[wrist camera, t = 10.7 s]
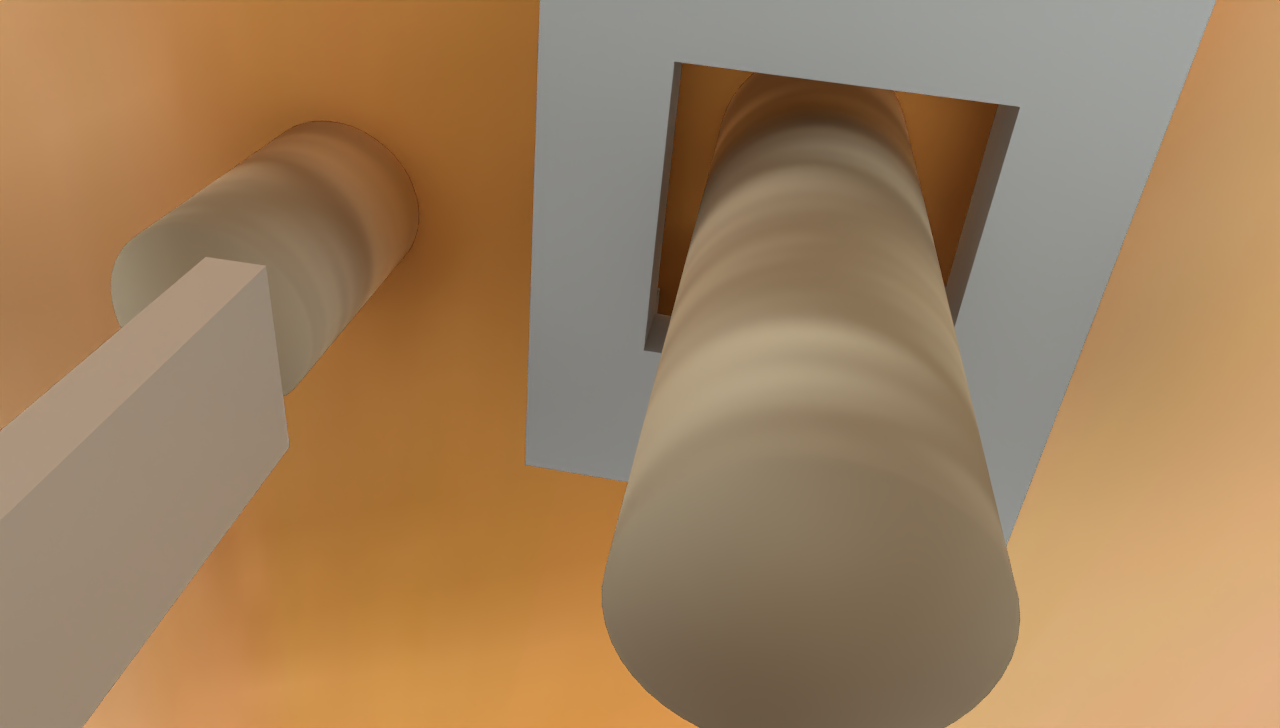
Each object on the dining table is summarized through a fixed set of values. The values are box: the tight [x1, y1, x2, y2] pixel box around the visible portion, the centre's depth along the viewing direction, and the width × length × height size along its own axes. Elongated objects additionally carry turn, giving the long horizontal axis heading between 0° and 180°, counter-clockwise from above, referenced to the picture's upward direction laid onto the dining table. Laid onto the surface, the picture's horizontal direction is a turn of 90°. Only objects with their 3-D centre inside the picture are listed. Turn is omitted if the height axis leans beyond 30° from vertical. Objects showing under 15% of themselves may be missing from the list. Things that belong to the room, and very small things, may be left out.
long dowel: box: [602, 72, 1020, 728], centre depth 15 cm, size 4×4×14 cm
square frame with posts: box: [525, 0, 1216, 546], centre depth 19 cm, size 10×12×5 cm
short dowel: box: [111, 121, 419, 397], centre depth 21 cm, size 4×4×6 cm
